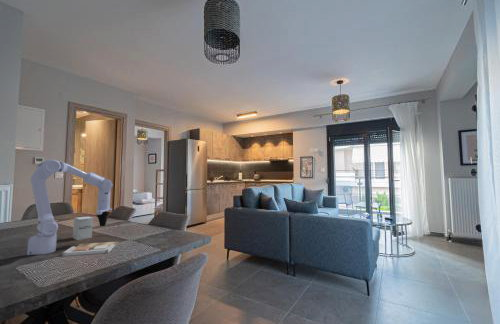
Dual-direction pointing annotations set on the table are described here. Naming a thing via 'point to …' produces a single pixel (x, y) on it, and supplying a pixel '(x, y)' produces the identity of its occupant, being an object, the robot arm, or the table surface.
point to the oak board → (96, 244)
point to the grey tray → (70, 253)
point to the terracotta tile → (82, 248)
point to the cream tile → (101, 247)
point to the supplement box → (82, 228)
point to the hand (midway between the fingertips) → (102, 225)
